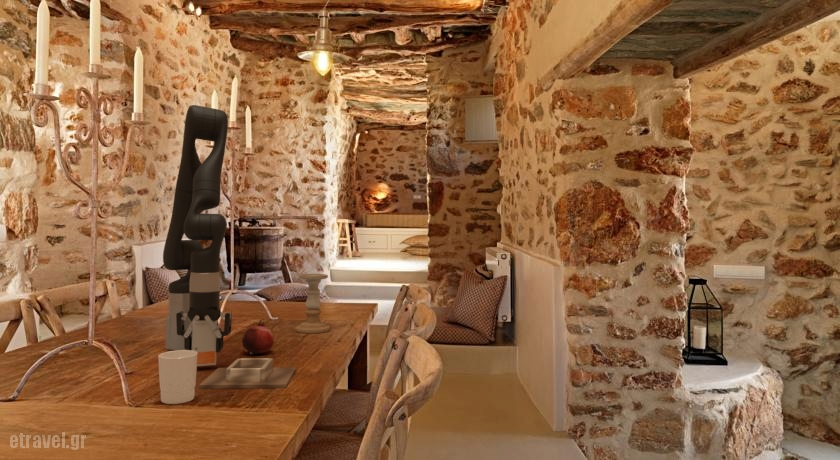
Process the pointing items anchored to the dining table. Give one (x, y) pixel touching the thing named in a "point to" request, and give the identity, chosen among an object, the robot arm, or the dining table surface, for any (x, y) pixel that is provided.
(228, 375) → the socket board
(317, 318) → the candle holder
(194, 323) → the skincare box
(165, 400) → the white cup
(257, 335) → the fruit
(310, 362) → the dining table surface
